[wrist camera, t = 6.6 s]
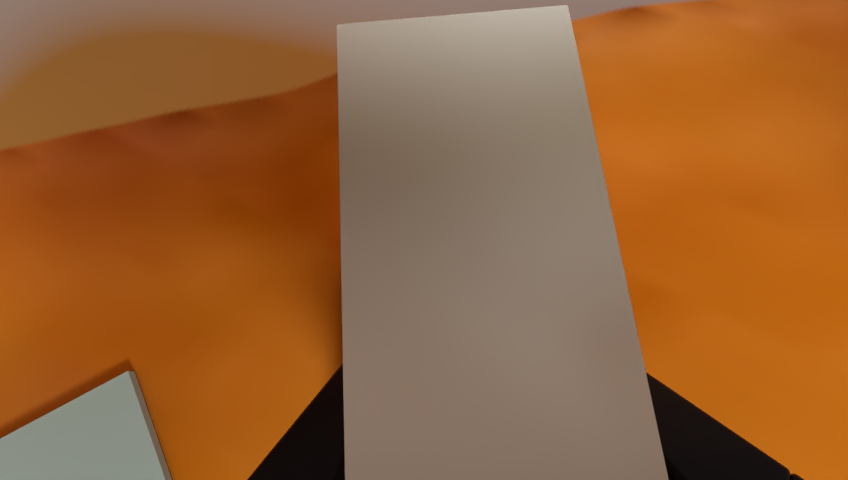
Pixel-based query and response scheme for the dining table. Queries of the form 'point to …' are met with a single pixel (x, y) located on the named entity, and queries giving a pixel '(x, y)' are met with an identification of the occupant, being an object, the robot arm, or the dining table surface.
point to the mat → (89, 439)
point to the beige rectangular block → (482, 259)
